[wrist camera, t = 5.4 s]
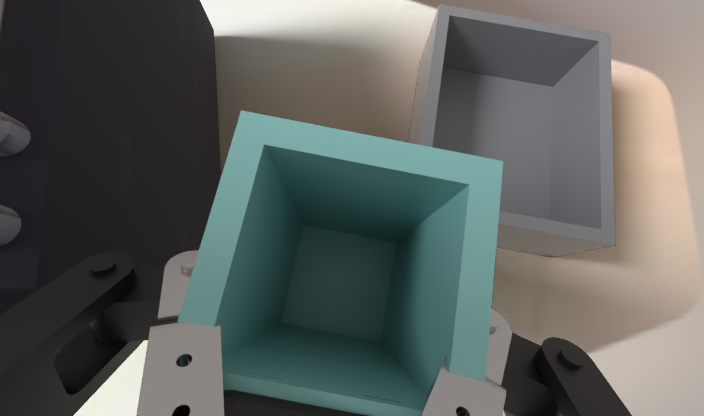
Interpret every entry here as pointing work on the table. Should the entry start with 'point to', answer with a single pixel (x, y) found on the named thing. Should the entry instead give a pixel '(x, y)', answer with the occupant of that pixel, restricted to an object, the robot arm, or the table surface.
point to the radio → (103, 135)
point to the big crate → (525, 122)
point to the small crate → (346, 266)
